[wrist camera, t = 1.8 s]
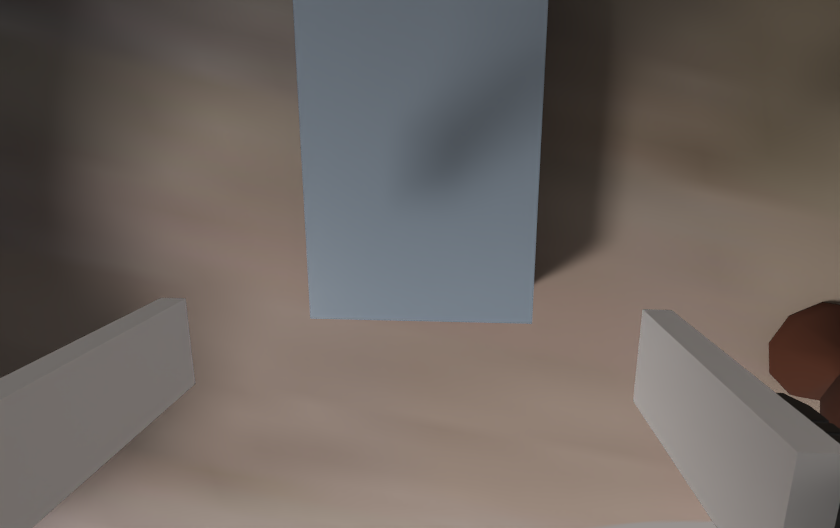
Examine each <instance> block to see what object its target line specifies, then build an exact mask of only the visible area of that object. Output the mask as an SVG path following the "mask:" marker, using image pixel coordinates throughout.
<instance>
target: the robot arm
mask: <svg viewBox="0 0 840 528" xmlns="http://www.w3.org/2000/svg"><path fill="white" fill-rule="evenodd" d="M194 384H195V377H194V368H193V359H192V350H191V342H190V333H189V324H188V315H187V307H186V298H160V299H158V300H156V301H154V302H152V303H150V304H148V305H146V306H144V307H142V308H140V309H138V310H136V311H134V312H132V313H130V314H128V315H126V316H124V317H122V318H120V319H118V320H116V321H114V322H112V323H110V324H108V325H106V326H104V327H102V328H100V329H98V330H96V331H94V332H92V333H90V334H88V335H86V336H84V337H82V338H80V339H78V340H76V341H74V342H72V343H70V344H68V345H66V346H64V347H62V348H60V349H58V350H56V351H54V352H52V353H50V354H48V355H46V356H44V357H42V358H40V359H38V360H36V361H34V362H32V363H30V364H28V365H26V366H24V367H22V368H20V369H18V370H16V371H14V372H12V373H10V374H8V375H6V376H4V377H2V378H0V528H32V527H34V526H35V525H36V524H37V523H38V522H39V521H40V520H41V519H43V518H44V517H45V516H46V515H47V514H48V513H49V512H51V511H52V510H53V509H54V508H55V507H56V506H57V505H58V504H60V503H61V502H62V501H63V500H64V499H65V498H66V497H68V496H69V495H70V494H71V493H72V492H73V491H74V490H75V489H77V488H78V487H79V486H80V485H81V484H82V483H83V482H85V481H86V480H87V479H88V478H89V477H90V476H91V475H92V474H94V473H95V472H96V471H97V470H98V469H99V468H100V467H102V466H103V465H104V464H105V463H106V462H107V461H108V460H109V459H111V458H112V457H113V456H114V455H115V454H116V453H117V452H119V451H120V450H121V449H122V448H123V447H124V446H125V445H126V444H128V443H129V442H130V441H131V440H132V439H133V438H134V437H136V436H137V435H138V434H139V433H140V432H141V431H142V430H143V429H145V428H146V427H147V426H148V425H149V424H150V423H151V422H153V421H154V420H155V419H156V418H157V417H158V416H159V415H160V414H162V413H163V412H164V411H165V410H166V409H167V408H168V407H170V406H171V405H172V404H173V403H174V402H175V401H176V400H177V399H179V398H180V397H181V396H182V395H183V394H184V393H185V392H186V391H188V390H189V389H190V388H191V387H192V386H193V385H194ZM633 401H634V403H635V404H636V406H637V407H638V409H639V410H640V412H641V413H642V415H643V417H644V418H645V420H646V421H647V423H648V424H649V426H650V427H651V429H652V430H653V432H654V433H655V435H656V436H657V438H658V439H659V441H660V442H661V444H662V445H663V447H664V448H665V450H666V451H667V453H668V454H669V456H670V457H671V459H672V461H673V462H674V464H675V465H676V467H677V468H678V470H679V471H680V473H681V474H682V476H683V477H684V479H685V480H686V482H687V483H688V485H689V486H690V488H691V489H692V491H693V492H694V494H695V495H696V497H697V498H698V500H699V501H700V503H701V505H702V506H703V508H704V509H705V511H706V512H707V514H708V515H709V517H710V518H711V520H712V521H713V523H714V524H715V526H716V527H717V528H840V428H838V427H837V426H836V425H834V424H833V423H829V420H828V419H826V418H825V417H824V416H822V415H821V414H820V413H818V412H817V411H816V410H814V409H813V408H812V407H810V406H809V405H807V404H805V403H802V402H800V401H798V400H796V399H794V398H792V397H790V396H788V395H786V394H784V393H775V392H774V391H773V390H771V389H770V388H769V387H768V386H766V385H765V384H764V383H763V382H761V381H760V380H759V379H758V378H756V377H755V376H754V375H753V374H751V373H750V372H749V371H748V370H746V369H745V368H744V367H742V366H741V365H740V364H739V363H737V362H736V361H735V360H734V359H732V358H731V357H730V356H729V355H727V354H726V353H725V352H724V351H722V350H721V349H720V348H719V347H717V346H716V345H715V344H714V343H712V342H711V341H710V340H709V339H707V338H706V337H705V336H704V335H702V334H701V333H700V332H699V331H697V330H696V329H695V328H693V327H692V326H691V325H690V324H688V323H687V322H686V321H685V320H683V319H682V318H681V317H680V316H678V315H677V314H676V313H675V312H673V311H672V310H648V309H643V311H642V320H641V330H640V340H639V349H638V359H637V369H636V378H635V388H634V398H633Z"/></svg>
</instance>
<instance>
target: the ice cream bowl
mask: <svg viewBox="0 0 840 528" xmlns="http://www.w3.org/2000/svg"><path fill="white" fill-rule="evenodd" d="M769 373H770V374H771V375H772V376H773V377H774V378H775V379H776V380H777V381H778V382H779V383H780V385H781V386H782V387H783V388H784V389H785V390H786V391H787V392H788V393H789V394H791V395H794V396H798V397H803V398H809V399H815V400H820V414H821V415H822V416H824V417H825V418H826V419H828V420H829V423H833V424H834V425H836V426H837V427H838V428H840V305H837V304H831V303H825V302H822V303H819V304H817V305H815V306H812V307H810V308H807V309H805V310H802V311H800V312H798V313H795V314H793V315H790V316H789V317H788V318H787V319H786V321H785V322H784V324H783V325H782V326H781V328H780V329H779V330H778V332H777V333H776V334H775V336H774V337H773V338H772V340H771V341H770V342H769Z"/></svg>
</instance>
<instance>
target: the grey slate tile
mask: <svg viewBox="0 0 840 528" xmlns="http://www.w3.org/2000/svg"><path fill="white" fill-rule="evenodd" d="M293 12H294V31H295V49H296V67H297V85H298V103H299V121H300V139H301V157H302V175H303V194H304V212H305V230H306V248H307V266H308V284H309V302H310V318H312V319H355V320H398V321H441V322H484V323H527V324H532V311H533V291H534V271H535V252H536V232H537V212H538V192H539V173H540V153H541V133H542V114H543V94H544V74H545V54H546V35H547V15H548V0H293Z"/></svg>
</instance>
